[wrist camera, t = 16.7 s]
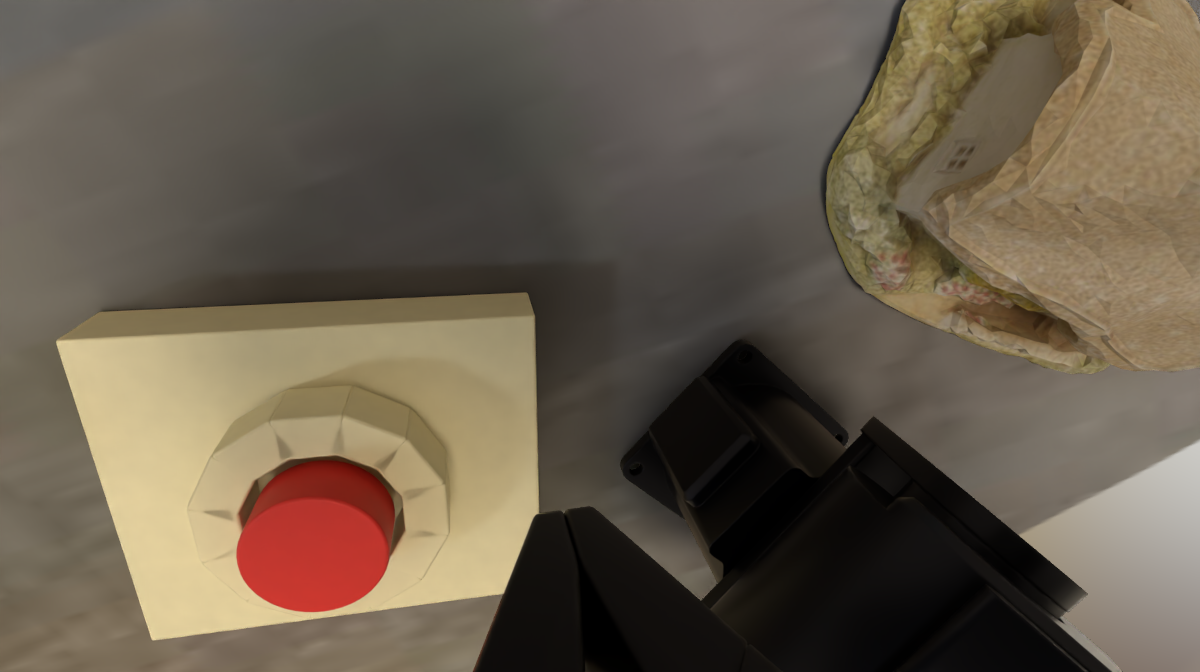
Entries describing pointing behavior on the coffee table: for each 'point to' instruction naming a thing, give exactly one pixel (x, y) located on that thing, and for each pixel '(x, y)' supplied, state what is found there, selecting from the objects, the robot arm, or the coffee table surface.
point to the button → (317, 537)
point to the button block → (310, 439)
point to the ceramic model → (1033, 179)
